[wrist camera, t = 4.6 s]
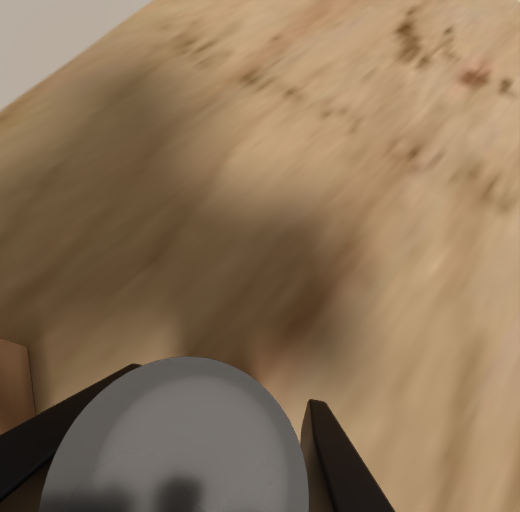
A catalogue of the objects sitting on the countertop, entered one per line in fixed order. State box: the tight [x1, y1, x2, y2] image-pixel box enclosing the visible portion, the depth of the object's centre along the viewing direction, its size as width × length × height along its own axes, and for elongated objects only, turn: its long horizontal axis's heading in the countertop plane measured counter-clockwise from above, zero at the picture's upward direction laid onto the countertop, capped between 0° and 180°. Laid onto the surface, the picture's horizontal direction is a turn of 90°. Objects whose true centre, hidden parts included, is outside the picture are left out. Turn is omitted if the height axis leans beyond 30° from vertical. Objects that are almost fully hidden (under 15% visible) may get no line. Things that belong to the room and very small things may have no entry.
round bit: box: [39, 356, 309, 512], centre depth 9 cm, size 3×3×11 cm
